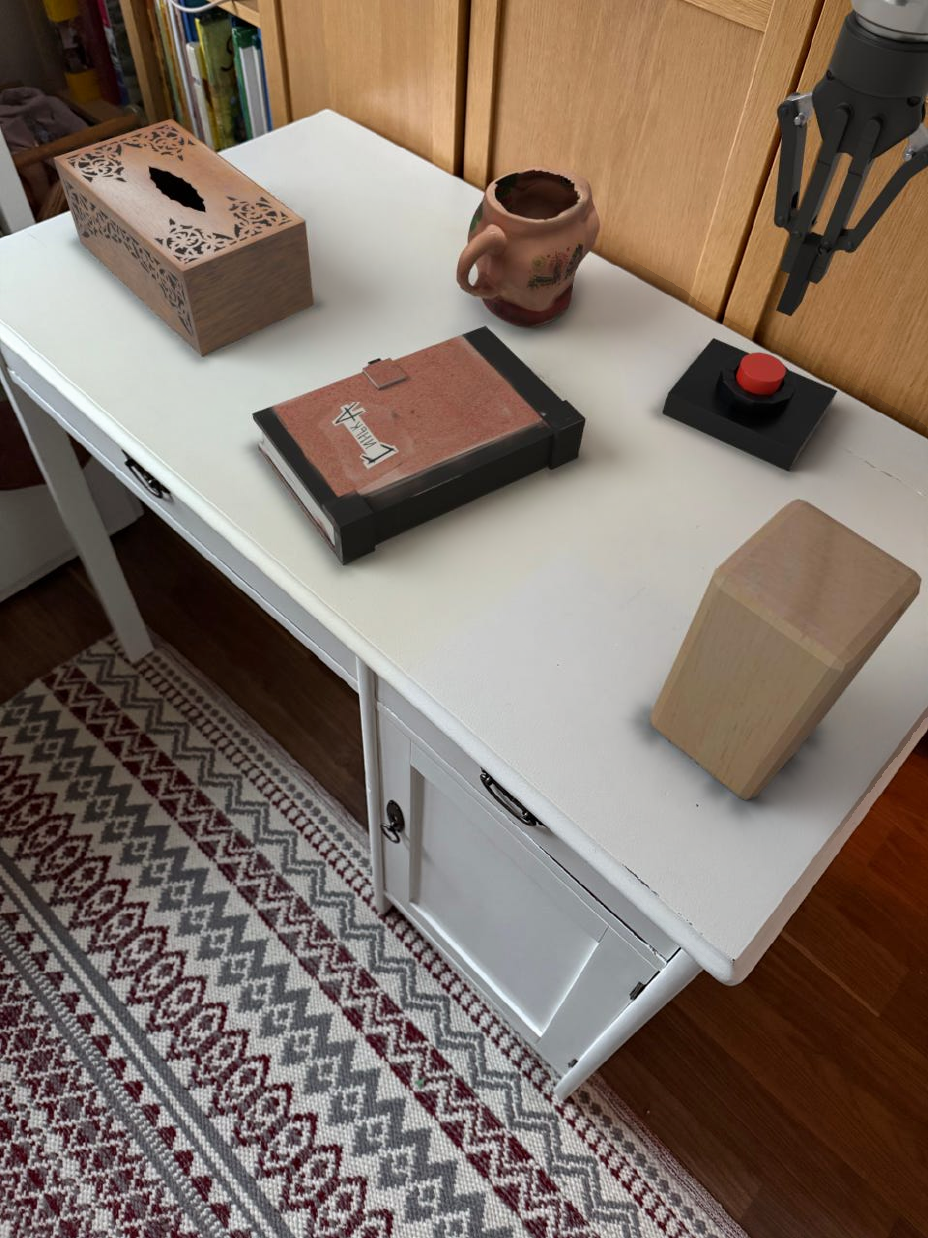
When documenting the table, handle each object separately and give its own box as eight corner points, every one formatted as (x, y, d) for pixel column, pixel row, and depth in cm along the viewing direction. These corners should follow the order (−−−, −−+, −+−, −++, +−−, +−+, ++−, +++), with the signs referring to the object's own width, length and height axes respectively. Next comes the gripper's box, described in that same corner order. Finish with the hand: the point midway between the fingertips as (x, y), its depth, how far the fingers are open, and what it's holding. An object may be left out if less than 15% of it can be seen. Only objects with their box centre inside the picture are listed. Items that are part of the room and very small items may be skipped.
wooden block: (816, 728, 73) (934, 574, 56) (745, 809, 68) (851, 668, 52) (715, 652, 77) (798, 487, 60) (641, 724, 72) (710, 568, 56)
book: (479, 357, 97) (482, 317, 93) (577, 457, 89) (585, 418, 85) (255, 444, 88) (248, 404, 84) (343, 565, 80) (339, 527, 76)
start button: (786, 377, 91) (792, 363, 90) (769, 401, 89) (775, 387, 88) (746, 360, 93) (751, 346, 91) (728, 383, 90) (733, 369, 89)
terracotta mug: (506, 377, 96) (519, 258, 84) (418, 327, 100) (419, 207, 88) (611, 292, 105) (635, 175, 94) (527, 250, 109) (540, 133, 98)
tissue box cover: (80, 242, 106) (53, 157, 97) (188, 201, 111) (171, 118, 103) (201, 356, 95) (182, 271, 87) (313, 304, 101) (305, 220, 93)
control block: (827, 410, 95) (844, 376, 91) (788, 471, 89) (804, 437, 86) (706, 358, 99) (718, 323, 95) (661, 413, 94) (672, 378, 90)
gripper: (795, 11, 64) (707, 299, 84) (978, 65, 61) (842, 354, 80) (832, -21, 68) (740, 262, 87) (1006, 28, 64) (870, 312, 84)
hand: (789, 305), depth 84 cm, fingers closed
